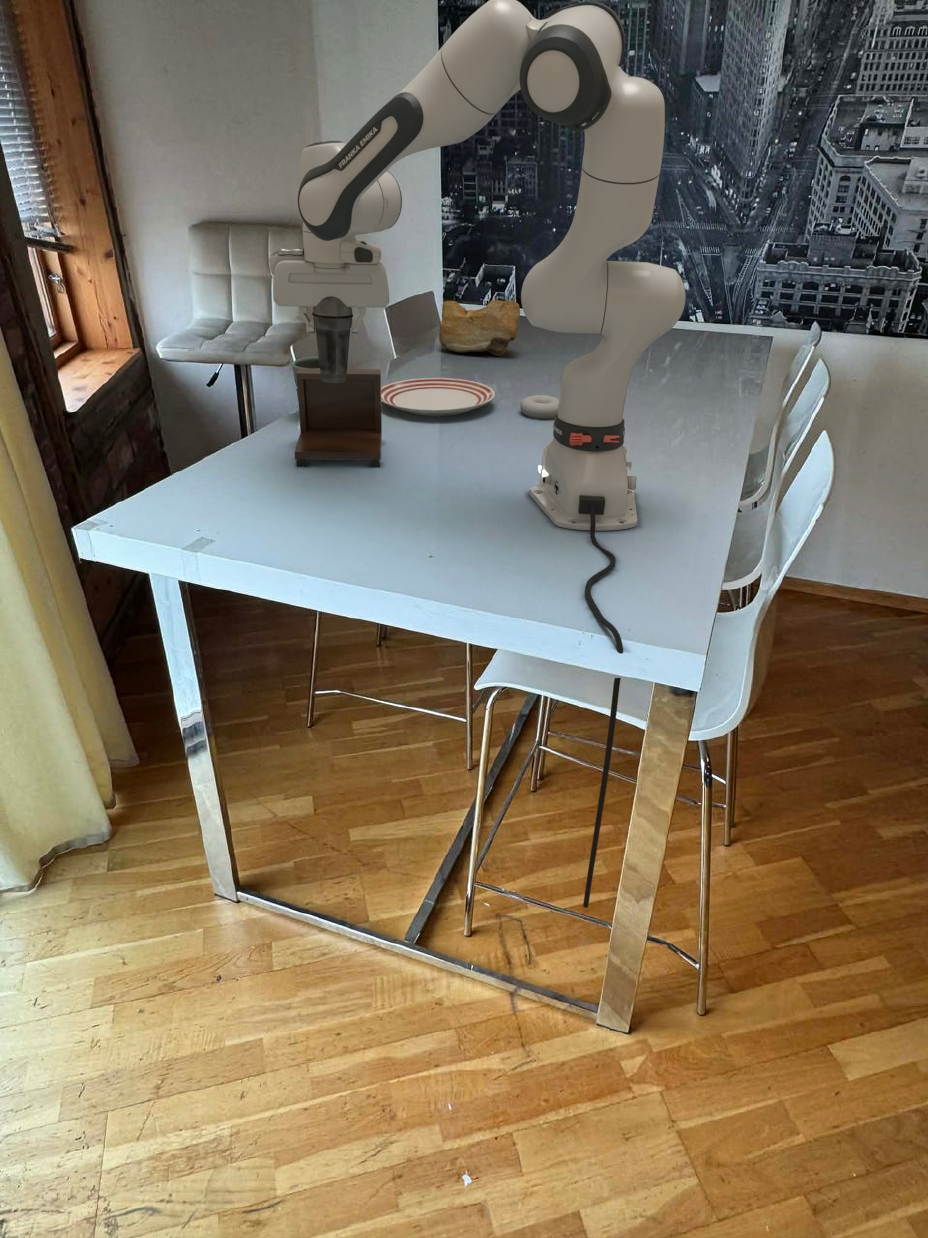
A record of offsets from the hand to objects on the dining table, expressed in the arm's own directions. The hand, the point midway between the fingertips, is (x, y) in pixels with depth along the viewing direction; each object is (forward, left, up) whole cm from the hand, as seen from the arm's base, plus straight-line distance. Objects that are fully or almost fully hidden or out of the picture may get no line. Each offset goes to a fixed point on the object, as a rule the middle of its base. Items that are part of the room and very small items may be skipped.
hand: (333, 332), depth 152 cm
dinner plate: (+36, -20, -24) cm, 48 cm away
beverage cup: (0, +1, -9) cm, 9 cm away
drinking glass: (+26, +6, -24) cm, 36 cm away
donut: (+30, -44, -24) cm, 58 cm away
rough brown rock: (+91, -36, -24) cm, 101 cm away
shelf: (+3, 0, -24) cm, 24 cm away
